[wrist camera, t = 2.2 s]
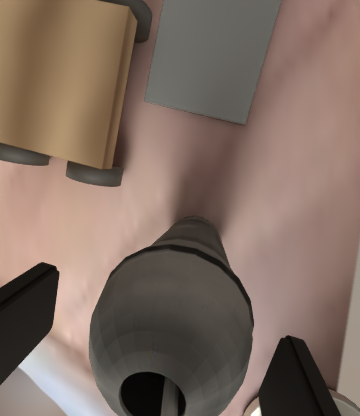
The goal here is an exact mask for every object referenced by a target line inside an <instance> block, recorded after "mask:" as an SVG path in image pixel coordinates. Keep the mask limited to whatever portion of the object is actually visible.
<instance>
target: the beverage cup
mask: <svg viewBox="0 0 360 416" xmlns="http://www.w3.org/2000/svg"><path fill="white" fill-rule="evenodd" d="M253 327H254V319H253V313H252V306H251V300H250V298H249V296H248V294H247V292H246V291H245V289H244V287H243V285H242V283H241V281H240V279H239V278H238V277H237V276H236V275H235V274H234V272H233V271H232V269H231V268H230V265H229V262H228V259H227V256H226V253H225V251H224V248H223V245H222V242H221V239H220V237H219V235H218V233H217V231H216V229H215V227H214V226H213V225H212V224H211V223H210V222H209V221H208V220H206V219H204V218H202V217H195V216H192V217H186V218H184V219H182V220H180V221H179V222H177V223H176V224H174V225H173V226H172V227H171V228H170V229H169V230H168V231H167V232H166V233H164V234H163V235H162V236H161V237H160V238H159V239H158V240H157V241H155V242H154V243H153V244H152V245H151V246H149V247H146V248H144V249H142V250H140V251H138V252H136V253H134V254H132V255H130V256H127V257H126V258H125V259H124V260H123V261H122V262H121V263H120V264H119V265H118V266H117V267H116V268H115V269H114V270H113V271H112V272H111V273H110V275H109V278H108V280H107V282H106V284H105V287H104V289H103V291H102V293H101V296H100V298H99V300H98V302H97V305H96V307H95V309H94V312H93V314H92V318H91V323H90V336H89V359H90V363H91V367H92V370H93V374H94V377H95V381H96V384H97V387H98V389H99V390H100V392H101V394H102V395H103V397H104V398H105V400H106V402H107V403H108V405H109V406H110V408H111V409H112V410H113V411H114V412H115V413H116V414H117V415H118V416H218V415H220V414H221V413H222V412H223V411H224V410H225V409H226V407H227V406H228V404H229V403H230V402H231V400H232V399H233V397H234V396H235V394H236V393H237V391H238V390H239V388H240V387H241V385H242V383H243V381H244V378H245V375H246V372H247V368H248V363H249V359H250V354H251V350H252V341H253V337H252V332H253Z"/></svg>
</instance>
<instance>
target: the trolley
mask: <svg viewBox="0 0 360 416" xmlns="http://www.w3.org/2000/svg"><path fill="white" fill-rule="evenodd" d="M151 21H152V12H151V10H150V8H149V7H148V6H147V5H146V3H145V2H144V1H142V0H0V160H2V161H7V162H12V163H18V164H25V165H36V166H45V165H48V164H49V156H53V157H57V158H61V159H65V160H68V162H67V170H66V176H67V177H68V178H70V179H73V180H76V181H79V182H83V183H87V184H92V185H98V186H108V187H117V186H120V185H121V180H122V175H123V170H124V169H123V168H122V167H120V166H117V165H114V164H112V163H113V157H114V152H115V146H116V140H117V135H118V129H119V123H120V118H121V112H122V106H123V101H124V95H125V89H126V84H127V78H128V72H129V67H130V61H131V55H132V50H133V44H134V42H135V43H142V42H145V41H147V40H148V37H149V31H150V26H151Z"/></svg>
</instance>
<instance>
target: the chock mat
mask: <svg viewBox="0 0 360 416" xmlns="http://www.w3.org/2000/svg"><path fill="white" fill-rule="evenodd" d="M280 4H281V0H164V1H163V6H162V11H161V16H160V22H159V27H158V32H157V37H156V42H155V47H154V52H153V58H152V63H151V68H150V73H149V78H148V83H147V88H146V93H145V99H144V101H145V102H147V103H152V104H156V105H160V106H165V107H169V108H173V109H177V110H182V111H186V112H190V113H194V114H199V115H203V116H207V117H212V118H216V119H220V120H224V121H229V122H233V123H237V124H241V125H245V124H246V121H247V117H248V114H249V110H250V107H251V103H252V100H253V97H254V93H255V90H256V86H257V83H258V79H259V76H260V72H261V69H262V66H263V62H264V59H265V55H266V52H267V48H268V45H269V42H270V38H271V35H272V31H273V28H274V24H275V21H276V17H277V14H278V11H279V7H280Z"/></svg>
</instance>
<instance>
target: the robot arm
mask: <svg viewBox="0 0 360 416" xmlns="http://www.w3.org/2000/svg"><path fill="white" fill-rule="evenodd" d="M58 281H59V271H58V270H57V268H56V266H54V265H50V264H47V263H44V262H41V263H39V264H37V265H36V266H34V267H33V268H31V269H30V270H28V271H26V272H25V273H23V274H22V275H20V276H18V277H17V278H15V279H14V280H12V281H10V282H9V283H7V284H6V285H4V286H2V287H1V288H0V385H1V384H2V383H3V382H4V381H5V380H6V378H7V377H8V376H9V375H10V374H11V373H12V372H13V371H14V370H15V369H16V368H17V367H18V365H19V364H20V363H21V362H22V361H23V360H24V359H25V358H26V357H27V356H28V355H29V353H30V352H31V351H32V350H33V349H34V348H35V347H36V346H37V345H38V344H39V343H40V342H41V340H42V339H43V338H44V337H45V336H46V335H47V334H48V333H49V331H50V330H51V328H52V325H53V320H54V312H55V304H56V296H57V289H58ZM243 416H360V409H359V408H358V407H357V405H356V404H354V403H353V402H352V401H350V400H349V399H348V398H346V397H345V396H343V395H341V394H339V393H337V392H335V391H333V390H330V389H328V387H327V385H326V383H325V381H324V379H323V377H322V375H321V373H320V371H319V369H318V367H317V365H316V363H315V361H314V359H313V357H312V355H311V353H310V351H309V349H308V347H307V345H306V343H305V342H304V340H302V339H299V338H296V337H292V336H289V335H288V336H286V337H285V338H281V339H280V341H279V343H278V346H277V348H276V351H275V353H274V355H273V358H272V360H271V363H270V365H269V367H268V370H267V372H266V375H265V377H264V380H263V382H262V384H261V387H260V389H259V396H258V397H257V398H256V399H255V400H254V401H252V403H251V404H250V405H249V406H248V408H247V409H246V411H245V413H244V415H243Z"/></svg>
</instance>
